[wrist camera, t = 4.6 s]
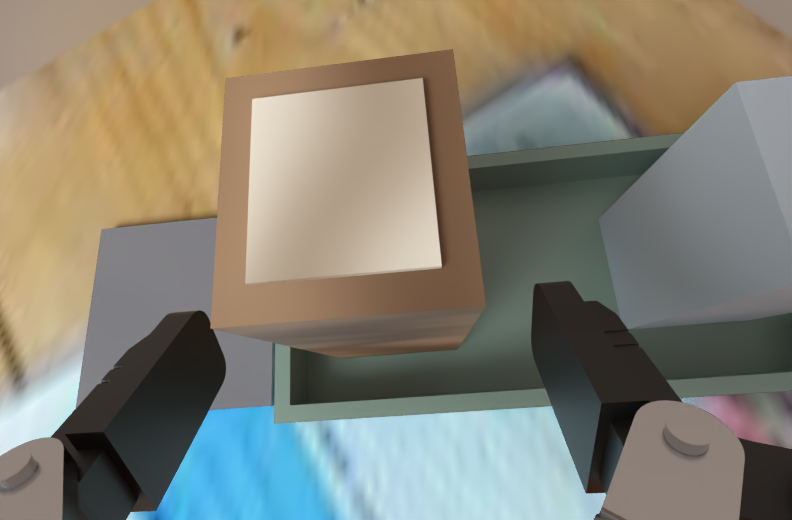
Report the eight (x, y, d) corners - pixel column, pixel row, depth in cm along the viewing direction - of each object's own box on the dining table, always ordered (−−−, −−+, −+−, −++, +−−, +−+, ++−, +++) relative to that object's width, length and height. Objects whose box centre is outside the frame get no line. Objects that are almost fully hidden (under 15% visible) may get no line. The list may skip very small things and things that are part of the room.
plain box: (623, 330, 17) (806, 280, 9) (598, 219, 19) (735, 81, 10) (749, 320, 17) (1071, 259, 8) (714, 207, 18) (959, 56, 10)
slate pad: (85, 417, 19) (74, 419, 18) (110, 233, 22) (101, 229, 21) (276, 405, 18) (271, 405, 18) (279, 216, 21) (274, 211, 20)
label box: (342, 358, 18) (206, 327, 7) (338, 236, 20) (222, 67, 9) (457, 349, 18) (486, 304, 7) (444, 226, 19) (452, 37, 9)
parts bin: (298, 416, 18) (274, 423, 15) (298, 202, 21) (278, 176, 18) (817, 383, 17) (890, 384, 14) (739, 157, 19) (788, 121, 17)
